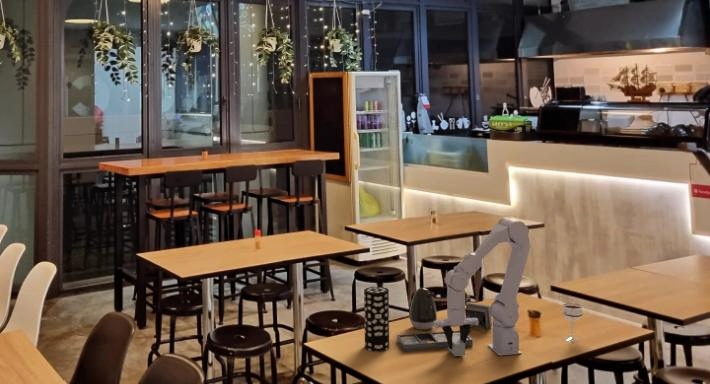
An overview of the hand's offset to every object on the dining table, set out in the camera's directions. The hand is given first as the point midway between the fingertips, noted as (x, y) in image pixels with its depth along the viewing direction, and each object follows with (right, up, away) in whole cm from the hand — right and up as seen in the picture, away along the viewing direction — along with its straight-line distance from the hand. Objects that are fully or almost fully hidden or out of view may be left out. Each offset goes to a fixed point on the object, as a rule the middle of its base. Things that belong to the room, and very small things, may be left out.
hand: (456, 347), depth 203 cm
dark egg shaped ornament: (-8, 0, +27) cm, 28 cm away
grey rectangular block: (0, -2, 0) cm, 2 cm away
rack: (-6, -1, +10) cm, 12 cm away
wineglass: (+42, -1, +13) cm, 44 cm away
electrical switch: (+13, 0, +27) cm, 29 cm away
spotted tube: (-26, -2, +8) cm, 27 cm away
